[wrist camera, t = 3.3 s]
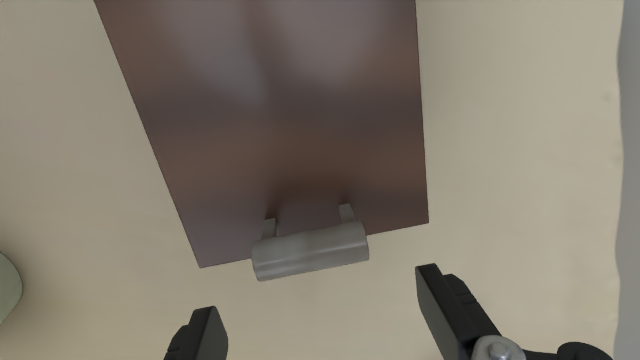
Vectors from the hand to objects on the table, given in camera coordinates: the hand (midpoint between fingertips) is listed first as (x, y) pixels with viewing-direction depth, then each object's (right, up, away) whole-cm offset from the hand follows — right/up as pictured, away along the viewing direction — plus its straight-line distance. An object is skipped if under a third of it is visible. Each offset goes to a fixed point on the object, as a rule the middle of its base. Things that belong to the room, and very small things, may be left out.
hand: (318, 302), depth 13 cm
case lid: (-2, +9, +5) cm, 10 cm away
